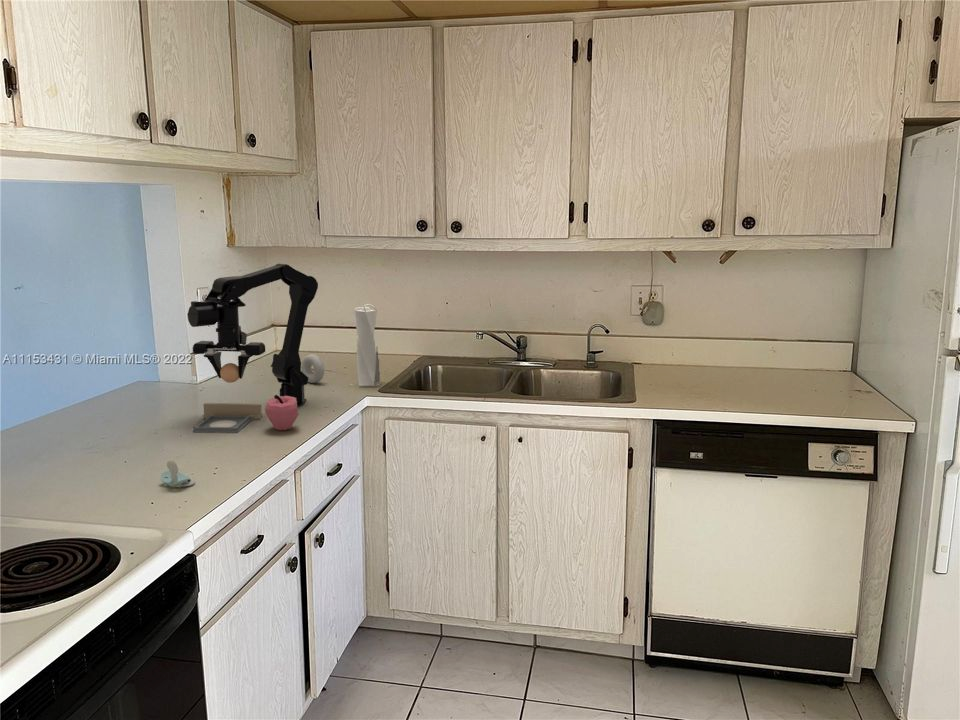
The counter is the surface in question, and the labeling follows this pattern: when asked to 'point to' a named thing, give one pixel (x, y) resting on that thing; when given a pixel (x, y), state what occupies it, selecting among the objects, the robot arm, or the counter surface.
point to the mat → (223, 424)
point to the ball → (229, 372)
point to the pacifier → (175, 476)
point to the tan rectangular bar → (232, 410)
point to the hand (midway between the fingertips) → (230, 378)
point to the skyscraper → (367, 347)
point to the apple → (282, 411)
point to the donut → (318, 368)
